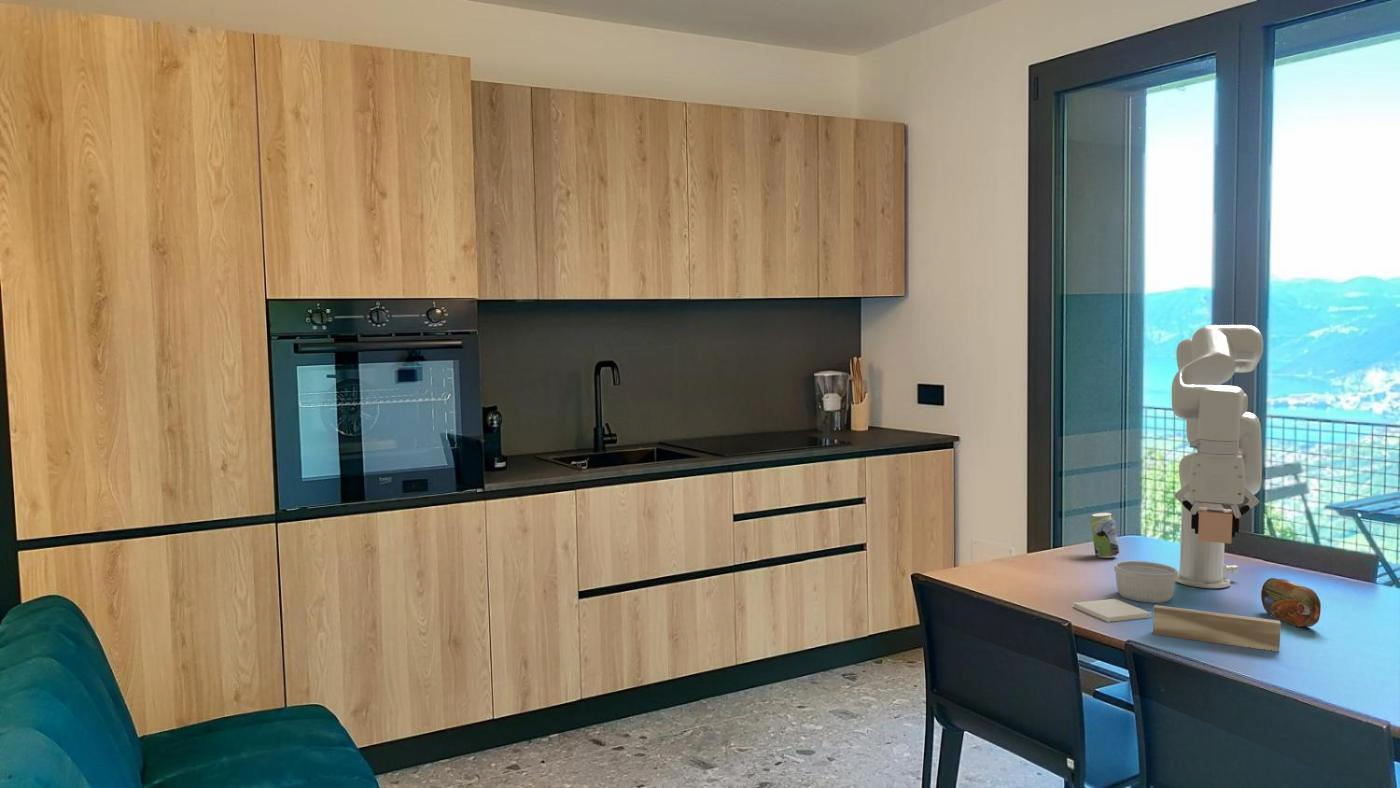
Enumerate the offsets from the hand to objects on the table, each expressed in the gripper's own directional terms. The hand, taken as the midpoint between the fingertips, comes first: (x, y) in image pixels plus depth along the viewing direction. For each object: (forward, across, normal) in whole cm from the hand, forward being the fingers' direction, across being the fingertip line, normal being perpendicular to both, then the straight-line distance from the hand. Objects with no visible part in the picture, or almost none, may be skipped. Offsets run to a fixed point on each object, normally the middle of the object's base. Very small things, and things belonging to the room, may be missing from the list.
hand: (1214, 533), depth 197 cm
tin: (+20, +15, +11) cm, 27 cm away
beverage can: (+20, -25, +53) cm, 62 cm away
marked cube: (+1, 0, 0) cm, 1 cm away
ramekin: (+20, -13, +17) cm, 29 cm away
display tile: (+19, -19, 0) cm, 27 cm away
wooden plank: (+19, 0, -11) cm, 22 cm away
